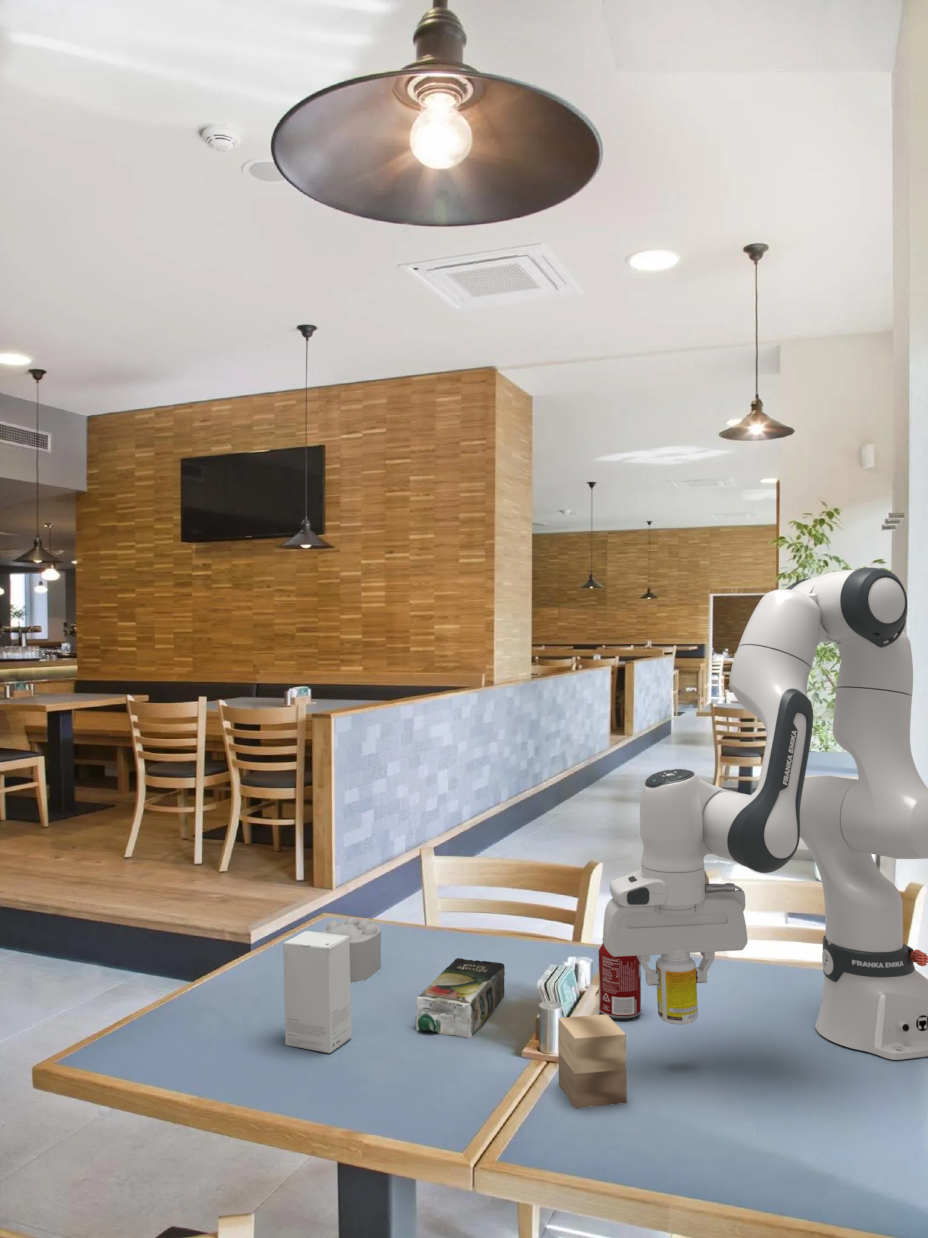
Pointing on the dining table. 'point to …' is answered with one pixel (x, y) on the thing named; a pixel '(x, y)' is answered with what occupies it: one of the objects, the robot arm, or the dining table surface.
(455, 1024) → the juice carton
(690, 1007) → the supplement bottle
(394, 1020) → the dining table surface
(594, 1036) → the tower top block
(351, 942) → the lumpy-topped squat cylinder
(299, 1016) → the skincare box
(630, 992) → the soda can
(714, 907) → the robot arm
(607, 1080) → the tower base block
